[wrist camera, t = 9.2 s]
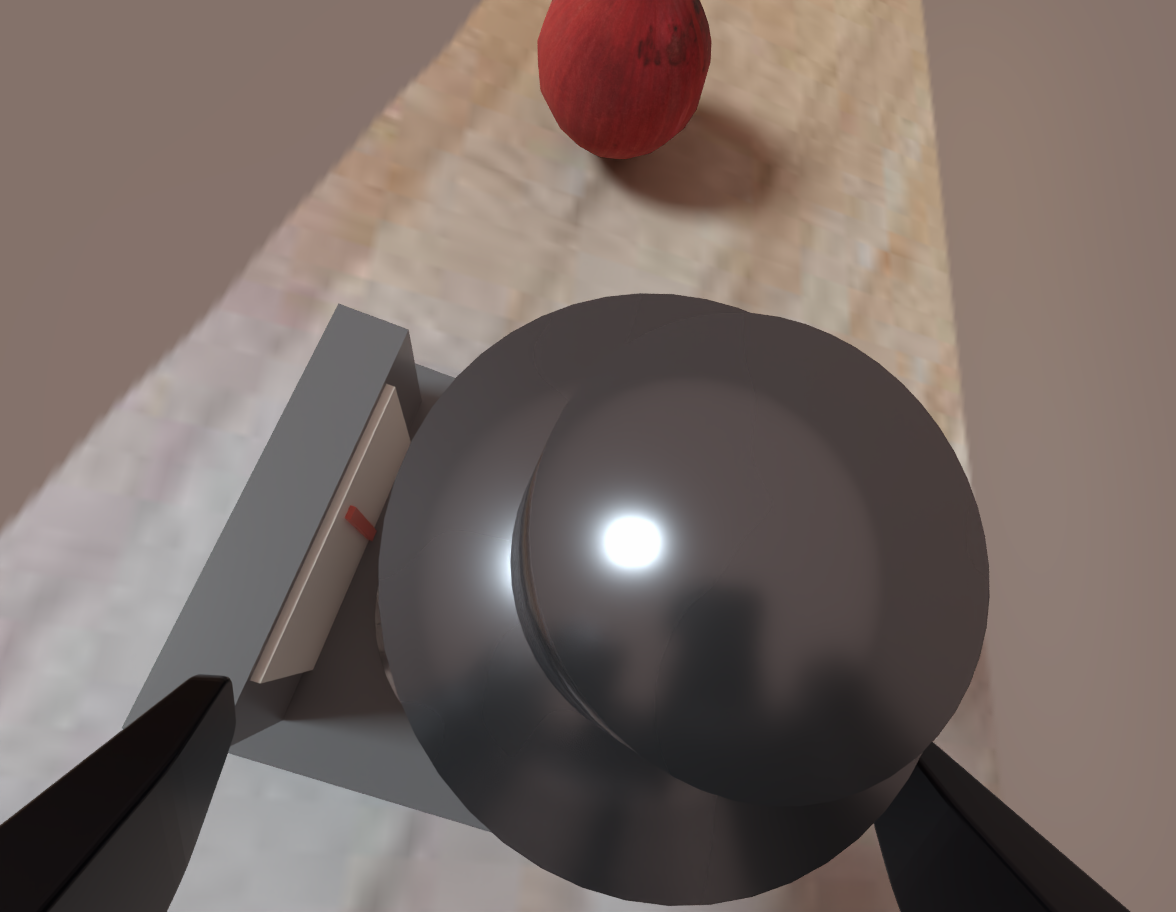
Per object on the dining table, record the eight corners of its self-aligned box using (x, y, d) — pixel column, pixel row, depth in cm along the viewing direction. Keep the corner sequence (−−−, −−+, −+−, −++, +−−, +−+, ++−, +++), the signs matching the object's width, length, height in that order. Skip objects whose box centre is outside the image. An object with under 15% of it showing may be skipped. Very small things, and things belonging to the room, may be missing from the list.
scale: (605, 841, 18) (685, 962, 12) (233, 727, 17) (90, 789, 11) (697, 494, 22) (800, 434, 15) (391, 383, 21) (357, 266, 14)
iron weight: (628, 706, 16) (1212, 965, 4) (431, 715, 15) (295, 1106, 3) (621, 517, 18) (1034, 223, 5) (440, 515, 17) (376, 143, 4)
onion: (684, 114, 26) (774, -97, 19) (652, 225, 24) (737, 42, 17) (551, 63, 25) (587, -177, 18) (508, 172, 24) (529, -42, 16)
